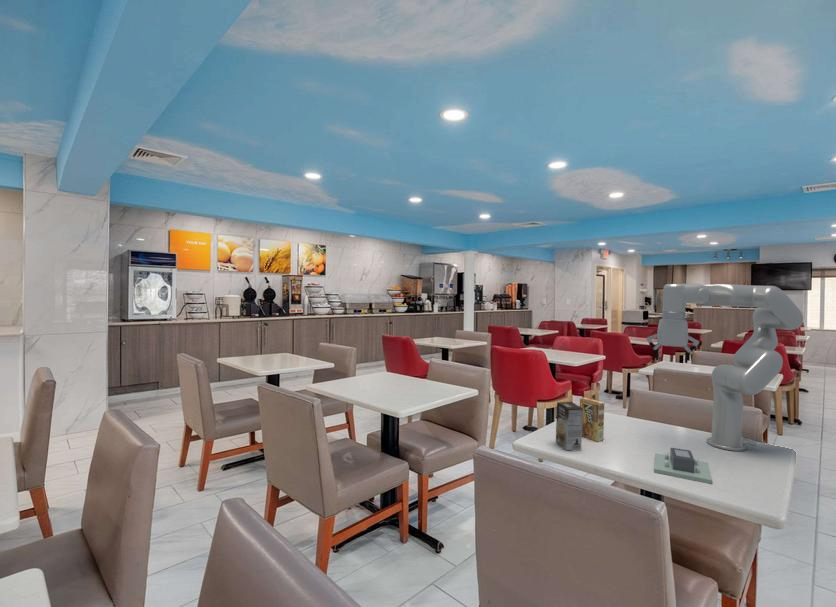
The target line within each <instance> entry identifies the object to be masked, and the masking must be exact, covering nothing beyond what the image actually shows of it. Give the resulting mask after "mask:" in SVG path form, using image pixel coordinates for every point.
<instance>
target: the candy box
mask: <svg viewBox="0 0 836 607" xmlns="http://www.w3.org/2000/svg"><path fill="white" fill-rule="evenodd" d="M579 406H580V407H581V408H583V419H582V437H583V438H586V439H589V440H592V441H595V442H601V441H603V440H604V435H605V434H604V430H605V429H604V427H605V425H604V424H605V402H604V401H600V400H597V399H593V398H589V397H582V398H579Z"/></svg>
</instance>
